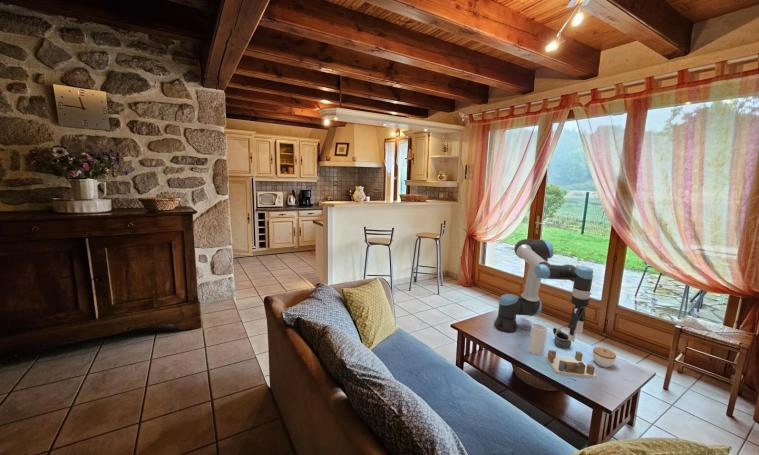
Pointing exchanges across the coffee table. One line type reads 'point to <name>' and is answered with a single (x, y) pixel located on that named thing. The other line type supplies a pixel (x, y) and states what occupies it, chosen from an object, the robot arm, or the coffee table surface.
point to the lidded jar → (603, 357)
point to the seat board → (559, 361)
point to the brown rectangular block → (574, 367)
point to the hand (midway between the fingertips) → (575, 336)
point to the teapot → (561, 338)
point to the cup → (537, 339)
